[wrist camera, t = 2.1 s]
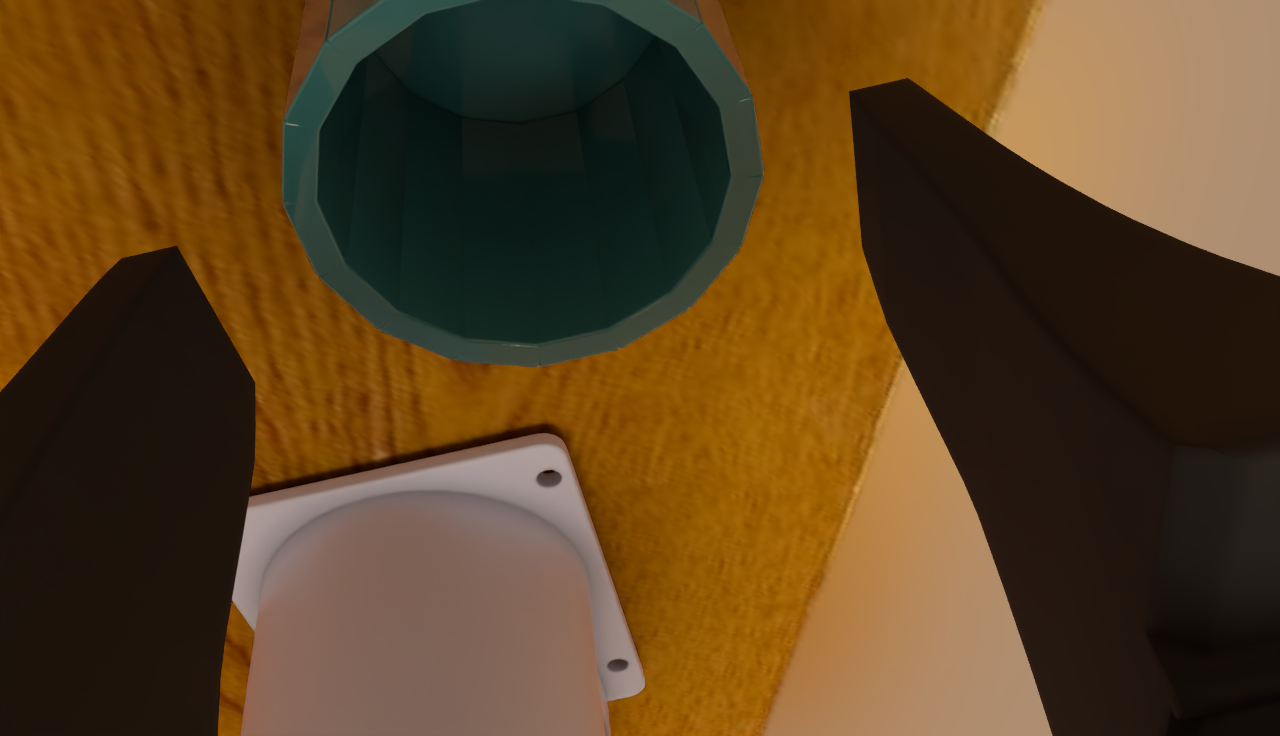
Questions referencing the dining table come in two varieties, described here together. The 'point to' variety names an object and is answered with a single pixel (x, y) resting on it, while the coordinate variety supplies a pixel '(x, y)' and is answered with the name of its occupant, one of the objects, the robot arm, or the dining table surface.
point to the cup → (519, 167)
